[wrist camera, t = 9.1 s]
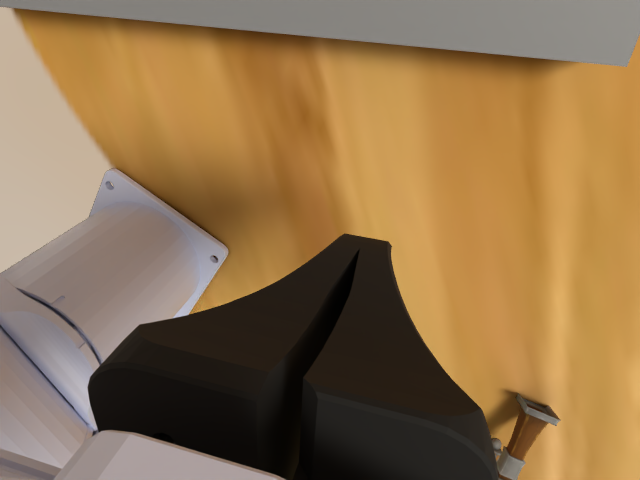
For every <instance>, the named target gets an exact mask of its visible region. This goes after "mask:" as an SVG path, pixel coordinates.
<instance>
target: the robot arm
mask: <svg viewBox="0 0 640 480" xmlns="http://www.w3.org/2000/svg"><path fill="white" fill-rule="evenodd" d="M110 182H111V183H112V184H113V186H114V187H113V186H112V185H111V183H110ZM391 247H392V246H391V245H390V243H389V242H388V241H382V240H377V239H372V238H366V237H361V236H355V235H350V234H343V235H342V236H340V237H339V238H338V239H336V240H335V241H334V242H333V243H331V244H330V245H329V246H328V247H327V248H325V249H324V250H323V251H321V252H320V253H319V254H318V255H316V256H315V257H313V258H312V259H311V260H309V261H308V262H307V263H305V264H304V265H302V266H301V267H300V268H298V269H296V270H295V271H293V272H292V273H290V274H289V275H287V276H285V277H284V278H282V279H281V280H279V281H277V282H275V283H273V284H271V285H269V286H267V287H265V288H263V289H261V290H259V291H257V292H255V293H252V294H250V295H247V296H245V297H242V298H240V299H237V300H234V301H232V302H229V303H227V304H224V305H221V306H218V307H214V308H211V309H208V310H205V311H201V312H197V313H193V314H190V315H189V313H190V312H191V310H192V309H193V307H194V305H195V304H196V302H197V301H198V299H199V298H200V296H201V295H202V293H203V292H204V290H205V289H206V287H207V286H208V284H209V283H210V281H211V280H212V278H213V277H214V275H215V274H216V272H217V271H218V269H219V268H220V266H221V265H222V263H223V262H224V260H225V259H226V257H227V256H228V249H227V247H226V246H225V245H224V244H222V243H221V242H219V241H218V240H217V239H215V238H214V237H212V236H211V235H210V234H208V233H207V232H205V231H204V230H203V229H201V228H200V227H198V226H197V225H195V224H194V223H193V222H191V221H190V220H188V219H187V218H186V217H184V216H183V215H181V214H180V213H179V212H177V211H176V210H174V209H173V208H172V207H170V206H169V205H167V204H166V203H164V202H163V201H162V200H160V199H159V198H157V197H156V196H155V195H153V194H152V193H150V192H149V191H148V190H146V189H145V188H143V187H142V186H140V185H139V184H138V183H136V182H135V181H133V180H132V179H131V178H129V177H128V176H126V175H125V174H124V173H122V172H121V171H119V170H118V169H115V168H112V169H109V170H108V171H106V172H105V174H104V177H103V180H102V183H101V185H100V188H99V191H98V193H97V196H96V199H95V201H94V204H93V207H92V210H91V212H90V215H89V218H87V219H86V220H84V221H82V222H81V223H79V224H78V225H76V226H75V227H73V228H71V229H70V230H68V231H67V232H65V233H64V234H62V235H60V236H59V237H57V238H56V239H54V240H52V241H51V242H49V243H48V244H46V245H44V246H43V247H41V248H40V249H38V250H37V251H35V252H33V253H32V254H30V255H29V256H27V257H25V258H24V259H22V260H21V261H19V262H18V263H16V264H15V265H13V266H11V267H10V268H8V269H7V270H5V271H3V272H2V273H0V480H499V478H498V468H497V462H496V457H495V452H494V448H493V444H492V440H491V436H490V432H489V429H488V426H487V423H486V420H485V416H484V414H483V411H482V409H481V408H480V407H479V406H478V405H477V404H476V403H475V402H474V401H473V400H472V399H471V398H470V397H469V396H468V395H467V394H466V393H465V392H464V391H463V390H462V389H461V388H460V387H459V386H458V385H457V384H456V383H455V382H454V381H453V380H452V379H451V378H450V376H449V375H448V374H447V373H446V372H445V371H444V369H443V368H442V367H441V365H440V364H439V363H438V361H437V360H436V358H435V357H434V356H433V354H432V353H431V351H430V350H429V349H428V347H427V346H426V344H425V343H424V341H423V339H422V338H421V336H420V334H419V333H418V331H417V329H416V327H415V325H414V324H413V322H412V320H411V318H410V316H409V314H408V311H407V309H406V307H405V304H404V302H403V299H402V297H401V294H400V291H399V288H398V285H397V282H396V278H395V275H394V271H393V266H392V260H391ZM213 255H214V256H216V257H217V258H218V259H215V258H214V256H213Z"/></svg>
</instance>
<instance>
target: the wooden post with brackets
mask: <svg viewBox="0 0 640 480" xmlns="http://www.w3.org/2000/svg"><path fill="white" fill-rule="evenodd" d="M516 399H517V401H518V402H519V404H520V405H521V407H520V412H519V416H518V419H517V422H516V425H515V428H514V431H513V434H512V437H511V440H510V442H509V444H508V446H507V447H505V446H504V447H503V451H501V449H500V448H501V442H500V440H499V439H496V438H494V439H492V444H493V448H494V452H495V457H496V462H497V468H498V478H499V480H517V479H518V475H519V473H520V471H521V469H522V467H523V466H524V464H525V461H524V460H523V459H524V457H525V455H526V453H527V452H528V450H529V448H530V447H531V445H532V444H533V442H534V441H535V440H536V438H537V437H538V435H539V434H540V432H541V431H542V430H543V428H544V427H545V426H546V425H547V424H548V423H551V424H553V425H555V426H557V423H558V422H559V421H561V420H560V419H559V418H558V417H557V415H556V414H555V413H554V411H553V410H552V409H551V408H550V406H547V407H546V408H545V407H543V406H540V405H538V404H535V403H533V402H530V401H528V400H525V399H523V398H521V396H520V395H519V393H518V395H517V397H516Z"/></svg>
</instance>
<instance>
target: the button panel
mask: <svg viewBox="0 0 640 480" xmlns="http://www.w3.org/2000/svg"><path fill="white" fill-rule="evenodd" d="M0 7H9V8H19V9H30V10H40V11H50V12H61V13H71V14H82V15H92V16H103V17H113V18H124V19H134V20H144V21H155V22H165V23H176V24H186V25H197V26H207V27H218V28H228V29H238V30H249V31H259V32H270V33H280V34H291V35H301V36H312V37H322V38H333V39H343V40H353V41H364V42H374V43H385V44H395V45H406V46H416V47H427V48H437V49H447V50H458V51H468V52H479V53H489V54H500V55H510V56H521V57H531V58H541V59H552V60H562V61H573V62H583V63H594V64H604V65H615V66H625V67H627V65H628V63H629V60H630V58H631V55H632V52H633V50H634V47H635V45H636V42H637V40H638V37H639V34H640V0H0Z"/></svg>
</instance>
